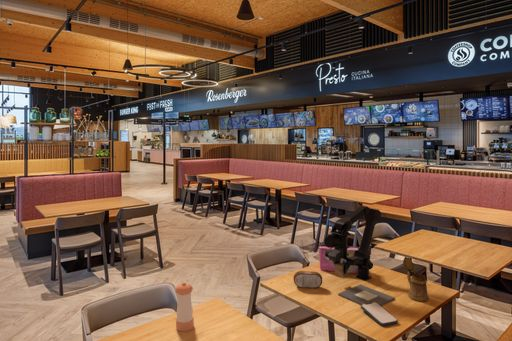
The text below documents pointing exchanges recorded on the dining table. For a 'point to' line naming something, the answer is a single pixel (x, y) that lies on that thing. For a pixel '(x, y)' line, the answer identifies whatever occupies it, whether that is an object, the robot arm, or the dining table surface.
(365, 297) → the mat
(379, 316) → the phone case
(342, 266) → the block
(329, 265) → the gum box
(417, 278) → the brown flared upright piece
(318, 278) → the portable speaker
